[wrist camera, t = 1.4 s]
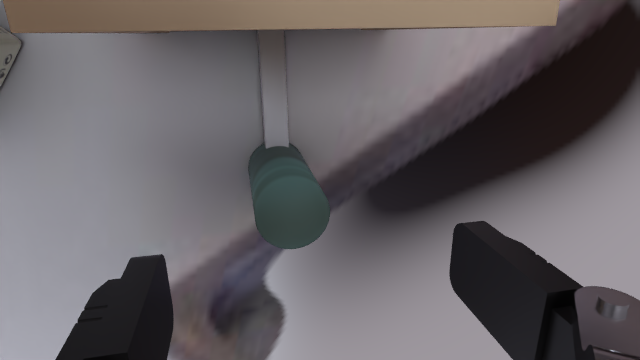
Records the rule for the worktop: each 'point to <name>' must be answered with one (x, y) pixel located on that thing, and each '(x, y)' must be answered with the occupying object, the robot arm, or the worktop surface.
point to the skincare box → (7, 52)
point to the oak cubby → (270, 15)
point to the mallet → (282, 162)
